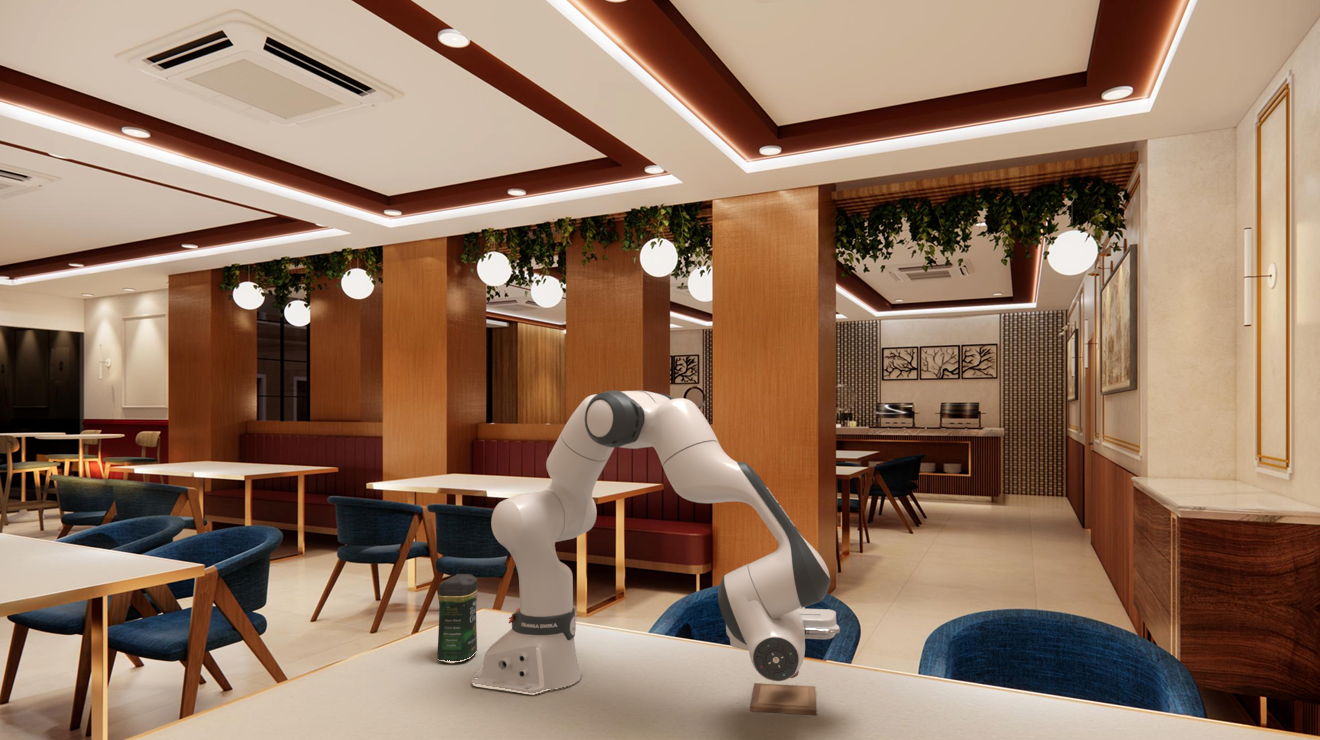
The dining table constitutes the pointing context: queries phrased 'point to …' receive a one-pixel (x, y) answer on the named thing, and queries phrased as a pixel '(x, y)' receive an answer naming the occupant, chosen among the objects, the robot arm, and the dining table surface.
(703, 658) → the dining table surface
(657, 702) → the dining table surface
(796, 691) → the trivet
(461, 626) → the coffee jar
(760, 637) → the robot arm
